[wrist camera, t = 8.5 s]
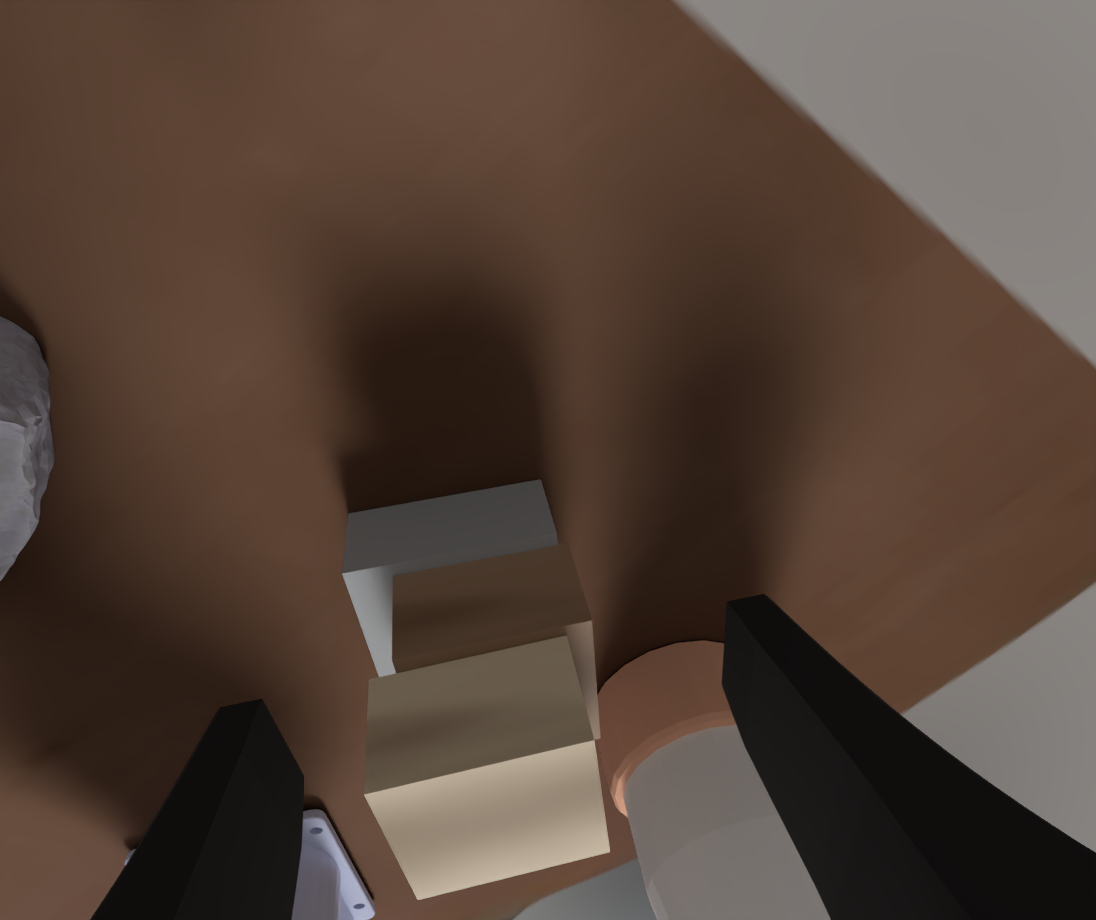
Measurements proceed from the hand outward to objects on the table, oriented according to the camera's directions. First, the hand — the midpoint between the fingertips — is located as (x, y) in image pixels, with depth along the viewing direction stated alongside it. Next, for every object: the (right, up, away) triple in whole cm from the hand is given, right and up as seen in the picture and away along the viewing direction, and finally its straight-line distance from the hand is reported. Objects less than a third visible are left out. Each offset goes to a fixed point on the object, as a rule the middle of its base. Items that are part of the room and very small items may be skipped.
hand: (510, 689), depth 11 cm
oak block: (-1, -3, +8) cm, 8 cm away
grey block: (-2, 0, +12) cm, 13 cm away
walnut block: (-1, -1, +10) cm, 10 cm away
